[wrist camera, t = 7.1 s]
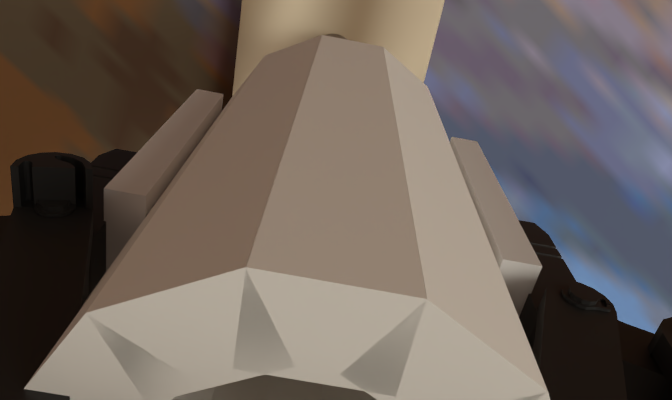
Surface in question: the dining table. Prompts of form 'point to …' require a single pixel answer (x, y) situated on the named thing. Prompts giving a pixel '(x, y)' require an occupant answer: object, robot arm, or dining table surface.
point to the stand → (337, 28)
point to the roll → (306, 257)
